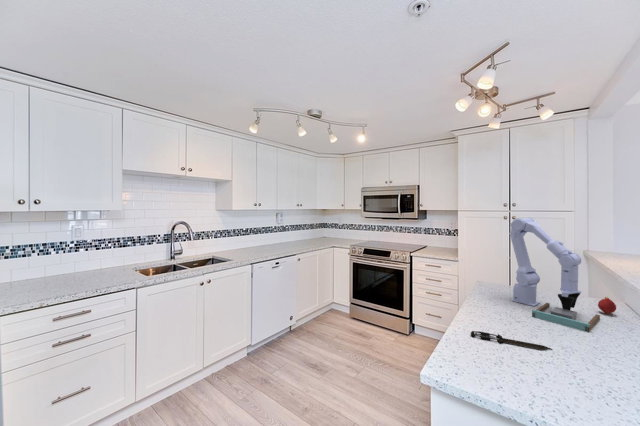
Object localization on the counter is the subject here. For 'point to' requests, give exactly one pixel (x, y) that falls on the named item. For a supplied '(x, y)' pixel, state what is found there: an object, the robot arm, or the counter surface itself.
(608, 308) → the red rounded lump
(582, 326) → the bay
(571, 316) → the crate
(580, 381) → the counter surface
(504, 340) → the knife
